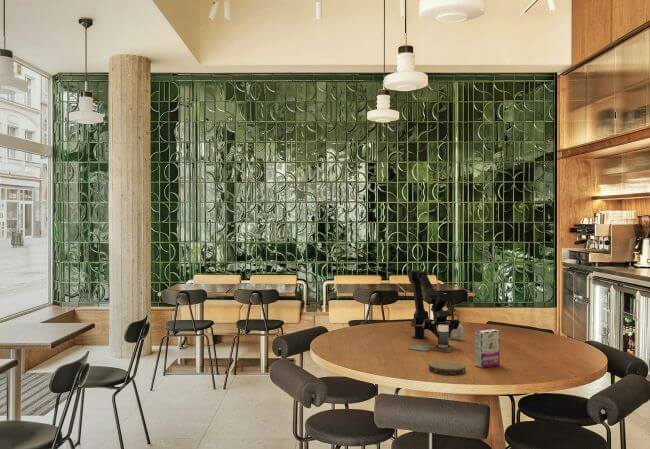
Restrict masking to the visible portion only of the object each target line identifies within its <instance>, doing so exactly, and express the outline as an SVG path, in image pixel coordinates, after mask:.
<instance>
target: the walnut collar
mask: <svg viewBox="0 0 650 449" xmlns="http://www.w3.org/2000/svg"><path fill="white" fill-rule="evenodd" d="M431 347H432V349H431V351H433V352H441V353H448V354H449V353H450V352H452V351H454V350H455V345H452V344H449V345H448V348H443V347H438V343H436V344H434V345H433V346H431Z"/></svg>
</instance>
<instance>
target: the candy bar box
mask: <svg viewBox="0 0 650 449" xmlns="http://www.w3.org/2000/svg"><path fill="white" fill-rule="evenodd" d="M500 360H501V359H500V330H498V329H493V328H492V329H491V328H490V329H483V330H475V331H474V362H475V363H474V365H475V366H476V367H478V368H482V369H483V368H490V367H491V366H492V367H497V366H498V365H499V366H500ZM492 367H491V368H492Z"/></svg>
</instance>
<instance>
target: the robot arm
mask: <svg viewBox="0 0 650 449" xmlns="http://www.w3.org/2000/svg"><path fill="white" fill-rule="evenodd" d="M407 278H408V281H409V283H410V285H412V290H413V291H412V292H413V299H414V306H415V307H414V308H415V311H414V313H413V319H411V322H410V326H411V327H413V328H414V335H413V336H412V338H413V339H421V340H422V339H423V340H424V339H425V338H427V335H426V334H425V332H426V331H425V330H428V331H429V332H431V333H432V334H433V335H434V336H435V337H436V338H437V339H438V338H439V336H438V328H437V327H438V325H439V324H446V325H449V329H448V331H449V339H451V338H450V337H451V331H452V332H453V330H457V329H458V326H459V324H461V323H460V321H459V319H456V318H455V319H453V318H452V319H450V321H448V318H449V317H451V316H452V312H451V309H446V310H444V308H446V306H447V304H448V302H449V301H450V297H449V296H448V295H447V293H444V292H443V291H439V292H438V291H437V290H436V289H435V288H434V287H433V285H432V283H431V281H430V279H429V277H428V273H427V271H422V270H421V269H410V270H409V272H407ZM422 288H423V289H422ZM423 290H424V292H425V296H423ZM423 297H424V298H425V302H426V304H428V305H431V308H430V311H431V312H432V316H433V317H432V318H433V320H432V318H431V319H430V317H429V312H428V311H427V310H426V309H425V306H424V305H425V304H424V298H423Z"/></svg>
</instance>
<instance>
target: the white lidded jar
mask: <svg viewBox="0 0 650 449" xmlns="http://www.w3.org/2000/svg"><path fill="white" fill-rule="evenodd" d="M437 327H438V328H437V332H438V336H439V338H437V344H438V347H443V348H448V345H450V342H449V341H450V340H449V339H450V338H449V331H448V329H449V325H446V324H439V325H438V326H437Z"/></svg>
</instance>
